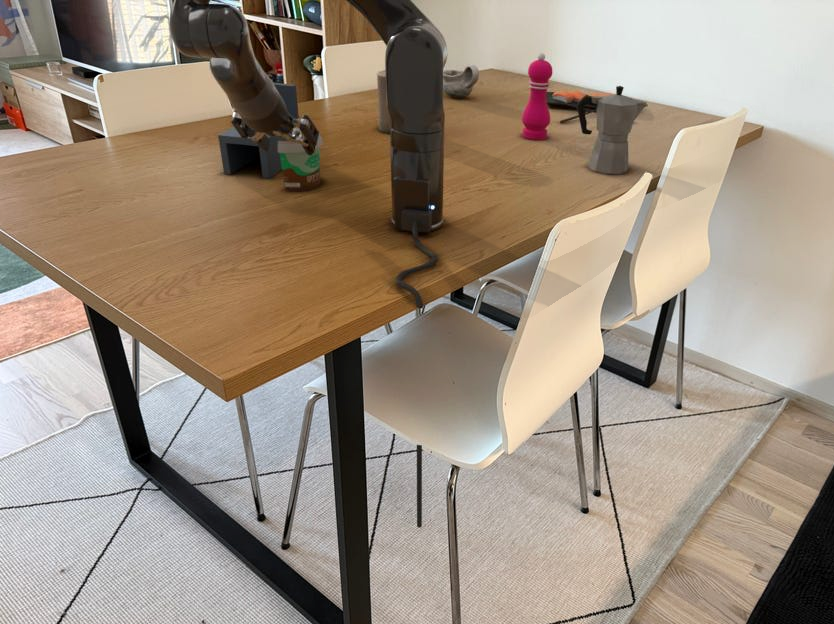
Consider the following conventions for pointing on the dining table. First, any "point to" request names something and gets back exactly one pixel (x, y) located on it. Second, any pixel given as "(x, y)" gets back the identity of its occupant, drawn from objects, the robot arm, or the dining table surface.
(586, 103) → the coffeepot
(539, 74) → the pepper mill
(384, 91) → the pillar candle
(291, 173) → the food container
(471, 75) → the grey curved hollow piece
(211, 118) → the dining table surface
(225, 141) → the blue toy chair
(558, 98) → the sushi plate
